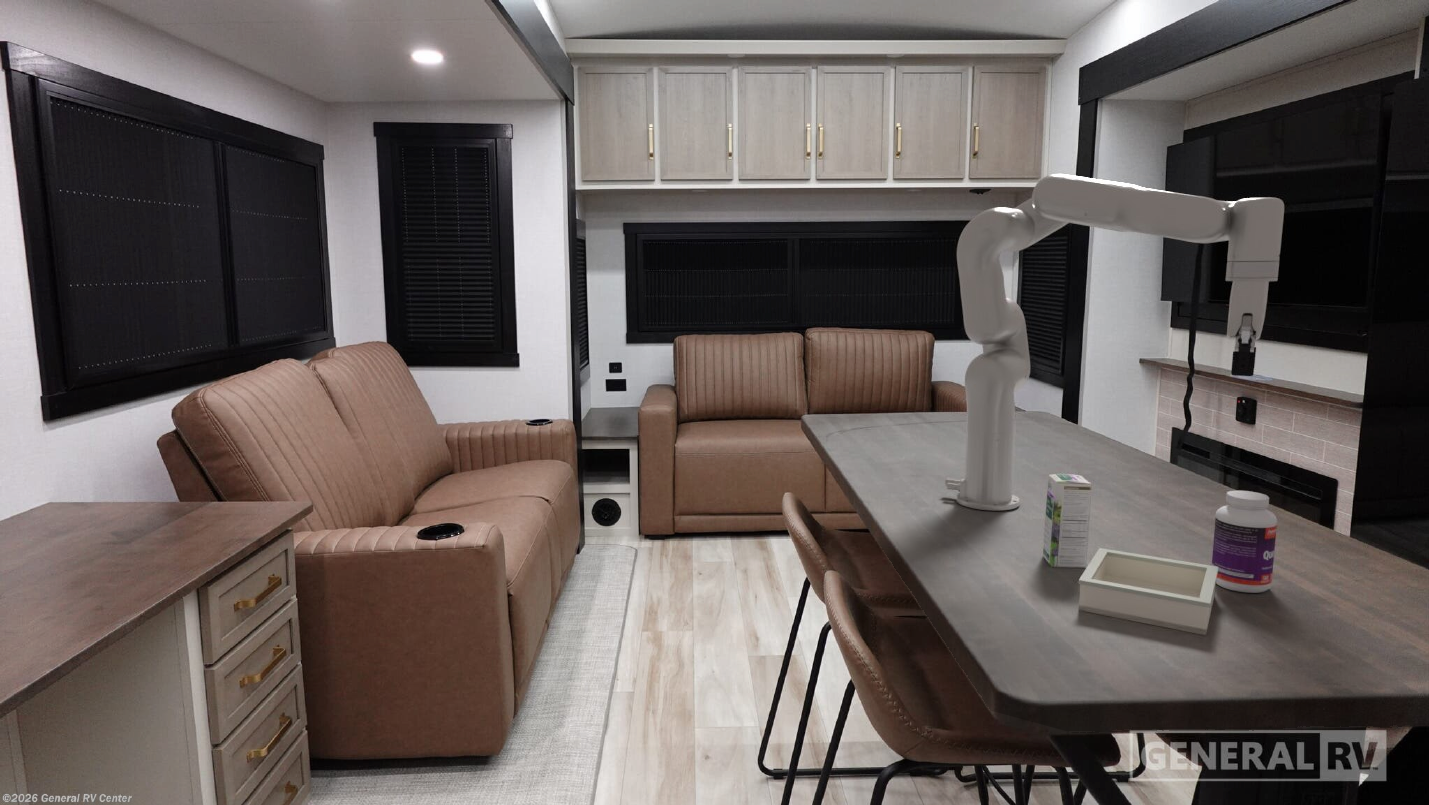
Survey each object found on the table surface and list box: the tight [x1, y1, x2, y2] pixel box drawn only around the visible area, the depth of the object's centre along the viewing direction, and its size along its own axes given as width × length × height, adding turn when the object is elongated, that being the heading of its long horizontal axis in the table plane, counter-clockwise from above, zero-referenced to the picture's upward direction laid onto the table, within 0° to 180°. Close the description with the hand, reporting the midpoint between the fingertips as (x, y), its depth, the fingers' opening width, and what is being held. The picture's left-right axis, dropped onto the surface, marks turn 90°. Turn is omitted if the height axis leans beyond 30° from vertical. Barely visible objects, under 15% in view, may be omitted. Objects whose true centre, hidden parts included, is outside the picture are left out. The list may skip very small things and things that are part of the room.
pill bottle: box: [1210, 490, 1278, 594], centre depth 131 cm, size 8×8×14 cm
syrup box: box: [1042, 473, 1093, 568], centre depth 142 cm, size 6×6×14 cm
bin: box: [1078, 547, 1218, 636], centre depth 126 cm, size 16×16×5 cm
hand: (1242, 372), depth 149 cm, fingers open, 9 cm apart
